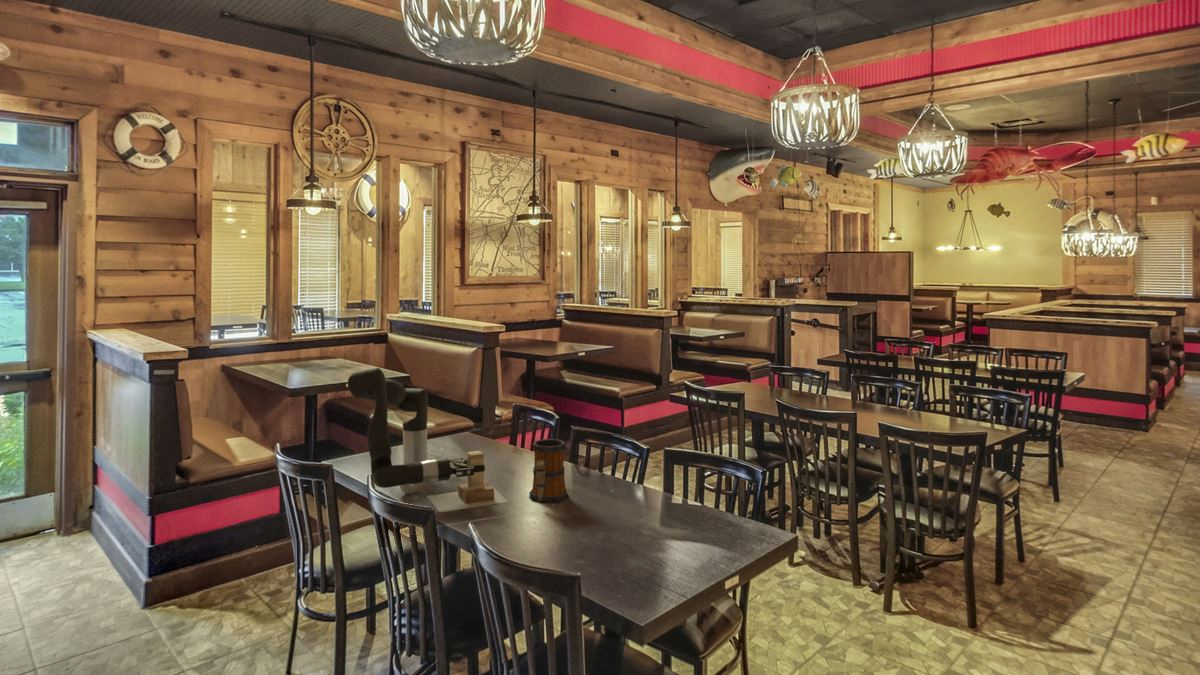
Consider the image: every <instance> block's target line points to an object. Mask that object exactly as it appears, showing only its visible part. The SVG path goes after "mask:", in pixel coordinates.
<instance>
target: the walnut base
mask: <svg viewBox="0 0 1200 675" xmlns="http://www.w3.org/2000/svg"><path fill="white" fill-rule="evenodd" d="M494 488H495V487H493V486H492V485H490V484H489V482H488V481H487V480H484V488H477V489H471V488H470V487H469V486H468V482H464V483H458V484H457V492H458V496H459V497H460V498H461V499H462V500H463V501H464V502H465V504H470V503H477V502H483V501H490V500H494Z"/></svg>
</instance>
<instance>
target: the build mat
mask: <svg viewBox="0 0 1200 675" xmlns="http://www.w3.org/2000/svg"><path fill="white" fill-rule="evenodd" d="M493 488H494V500H490V501H483V502H477V503H470V504H465V502H464V501H463V500H462V499H461V498H460V497H459V496H458V491H453V492H446V493H439V494H433V495H432V494H431V495H427V496H426V497H427V498H428V499H429V501H430V502H431V503H432V504H433V506H434V507H435V509H436V510H437V511H438V512H439V513H444V512H452V511H458V510H464V509H471V508H477V507H478V508H479V507H483V506H490V505H496V504H504V503H509V502H510V501H509V500H508V499H506V497H504V496H503V495H502V494H501V492H499V491H498V490H497V489H495V487H493Z"/></svg>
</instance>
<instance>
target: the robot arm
mask: <svg viewBox="0 0 1200 675" xmlns="http://www.w3.org/2000/svg"><path fill="white" fill-rule="evenodd" d="M347 388H348V391H349V392H350V394H351V395H352V396H353V397H354V398H356V399H359V400H369V401H373V402H375V407H374V412H373V414H372V418H371V420H370V422H369V426H368V428H367V432H366V439H367V440H366V441H367V447H368V453H369V457H370V471H371V479H372V482H373V484H374V485H375V486H376V487H379V488H383V489H387V488H394V487H400V486H399V485H404V484H409V485H412V484H416V483H423V484H425V483H436V482H442V481H443V482H444V481H448V480H449V481H450V479H451V475H455V476H456V478H462V477H468V476H473V475H474V473H476V472H483V471H484V472H485V471H486V467H485V464H484V465H477V466H468V464H467V458H464V457H459V458H451V459H449V458H447V457H441V458H435V459H433V458H432V459H428V457H429V456H428V412H429V411H428V409H429V408H428V407H429V406H428V405H429V396H428V392H427V390H426V389H425V388H412V387H411V388H407V387H406V388H405V386H404V385H403V384H402V383H400V382H399V381H396V380H395V379H392V378H391V379H389V378H386V377H385V374H384V372H383V371H382V369H381V368H379V367H372V368H368V369H363V370H358V371H355V372H353V373H352V374H350V375H349V377H348V378H347ZM388 406H390V407H395V408H397V409H398V410H400V411H401V412H406V413H408V412H409V413H416V414H415V417H412V418H410V419H407V420H405V421H403V423H402V446H403V447H402V450H403V451H402V452H403V464H393V463H392V457H391V456H392V445H391V440H390V433H389V426H388V422H389V421H388ZM468 470H470V471H468Z"/></svg>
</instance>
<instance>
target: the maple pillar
mask: <svg viewBox="0 0 1200 675" xmlns="http://www.w3.org/2000/svg"><path fill="white" fill-rule="evenodd" d="M466 454H467V458H466V460H467V464H468V466H477V465H484V466H485V464H484V461H485V460H484V459H485V458H484V457H485V456H484V453H483V451H481V450H475V451H468V452H467V453H466ZM468 471H470V470H468ZM484 475H485V471H483V472H476V473H474V475H473V476H467V483H468V486H469V487H470V488H471V489H477V488H484V481H485V480H484V479H485V476H484Z"/></svg>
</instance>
